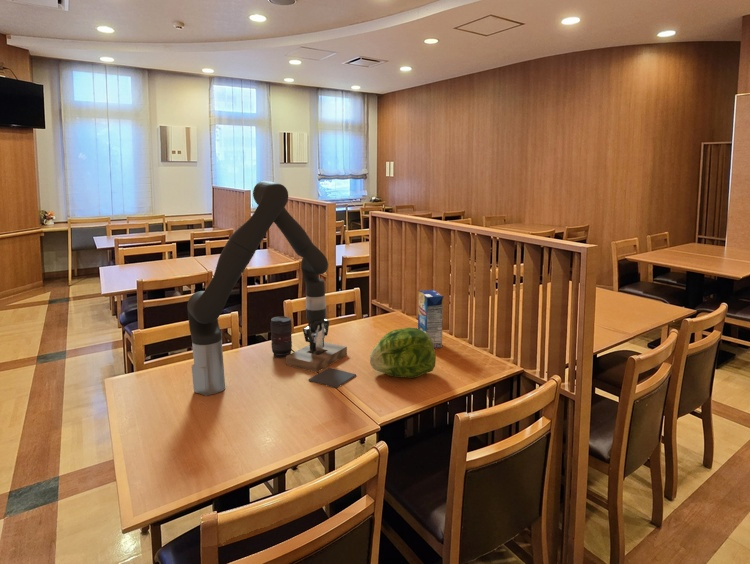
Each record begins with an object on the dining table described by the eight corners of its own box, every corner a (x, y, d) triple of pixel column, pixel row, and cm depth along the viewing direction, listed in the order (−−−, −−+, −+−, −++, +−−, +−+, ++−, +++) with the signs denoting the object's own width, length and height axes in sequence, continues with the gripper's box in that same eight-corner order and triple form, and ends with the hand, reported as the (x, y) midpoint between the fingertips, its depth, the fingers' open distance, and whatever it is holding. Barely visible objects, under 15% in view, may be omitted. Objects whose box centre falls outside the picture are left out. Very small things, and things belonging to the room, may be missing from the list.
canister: (318, 362, 189) (317, 332, 186) (309, 360, 191) (308, 330, 188) (325, 359, 192) (324, 329, 190) (316, 356, 195) (315, 327, 192)
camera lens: (290, 358, 193) (289, 322, 189) (269, 358, 193) (268, 321, 189) (294, 351, 200) (293, 315, 197) (274, 351, 201) (272, 315, 197)
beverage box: (426, 349, 203) (427, 297, 198) (417, 340, 213) (418, 290, 208) (441, 347, 204) (443, 296, 199) (432, 339, 215) (434, 289, 210)
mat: (336, 388, 167) (336, 386, 167) (308, 380, 173) (308, 379, 173) (356, 375, 177) (356, 374, 177) (328, 368, 183) (328, 367, 183)
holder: (316, 372, 180) (315, 363, 179) (286, 364, 187) (285, 356, 186) (346, 354, 197) (346, 346, 196) (318, 348, 204) (318, 340, 203)
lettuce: (366, 342, 187) (363, 328, 170) (427, 330, 188) (429, 315, 171) (375, 389, 181) (372, 380, 164) (438, 377, 181) (442, 367, 164)
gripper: (312, 312, 179) (313, 357, 183) (335, 303, 191) (335, 345, 195) (295, 309, 183) (297, 353, 187) (319, 301, 195) (320, 342, 199)
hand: (317, 349), depth 191 cm, fingers closed on canister, 4 cm apart
